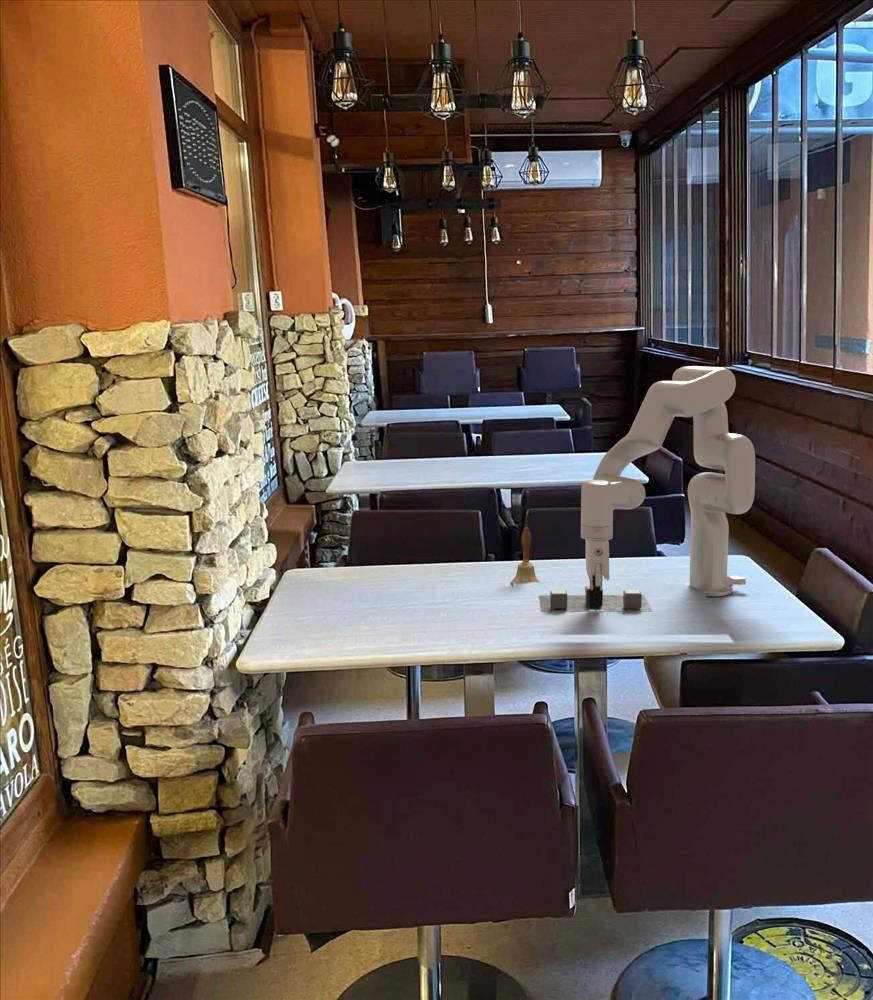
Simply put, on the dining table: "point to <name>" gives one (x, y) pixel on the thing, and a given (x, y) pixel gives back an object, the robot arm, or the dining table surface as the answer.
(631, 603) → the block
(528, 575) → the hand bell
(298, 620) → the dining table surface
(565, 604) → the breaker
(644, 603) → the panel
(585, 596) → the block
